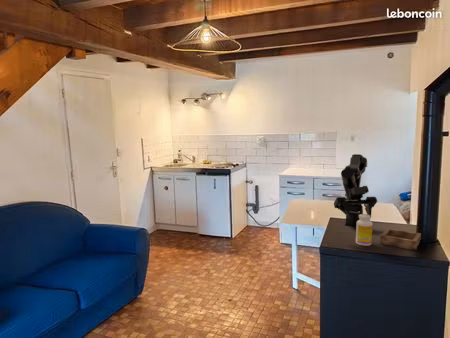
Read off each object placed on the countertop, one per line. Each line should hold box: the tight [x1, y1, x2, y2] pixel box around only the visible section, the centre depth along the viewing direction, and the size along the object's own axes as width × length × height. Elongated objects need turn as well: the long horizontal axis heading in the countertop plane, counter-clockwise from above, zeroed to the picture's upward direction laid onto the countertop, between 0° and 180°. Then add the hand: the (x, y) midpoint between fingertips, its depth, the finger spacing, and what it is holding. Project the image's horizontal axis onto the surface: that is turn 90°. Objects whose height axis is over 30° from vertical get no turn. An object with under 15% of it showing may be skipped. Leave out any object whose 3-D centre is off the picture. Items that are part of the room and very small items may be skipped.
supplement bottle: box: [355, 213, 374, 247], centre depth 155 cm, size 7×7×13 cm
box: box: [380, 228, 422, 251], centre depth 156 cm, size 14×14×4 cm
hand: (360, 218), depth 158 cm, fingers open, 9 cm apart
